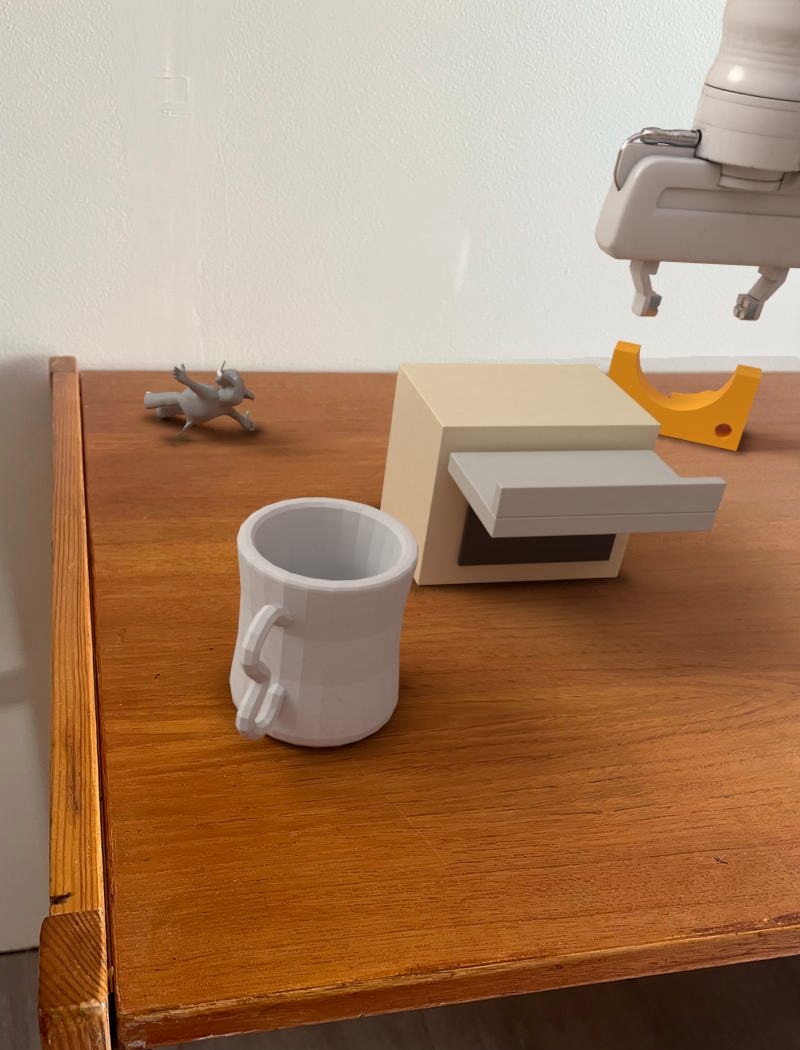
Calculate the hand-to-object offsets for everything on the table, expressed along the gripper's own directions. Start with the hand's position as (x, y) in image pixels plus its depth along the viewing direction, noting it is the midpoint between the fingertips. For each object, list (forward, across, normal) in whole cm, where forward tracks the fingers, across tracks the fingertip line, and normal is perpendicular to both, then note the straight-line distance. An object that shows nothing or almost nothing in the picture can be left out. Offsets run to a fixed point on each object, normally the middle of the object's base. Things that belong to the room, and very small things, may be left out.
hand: (694, 316), depth 86 cm
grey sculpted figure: (+11, -41, -1) cm, 43 cm away
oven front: (+10, -22, -23) cm, 34 cm away
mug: (+10, -39, -36) cm, 55 cm away
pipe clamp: (+10, +1, 0) cm, 10 cm away
